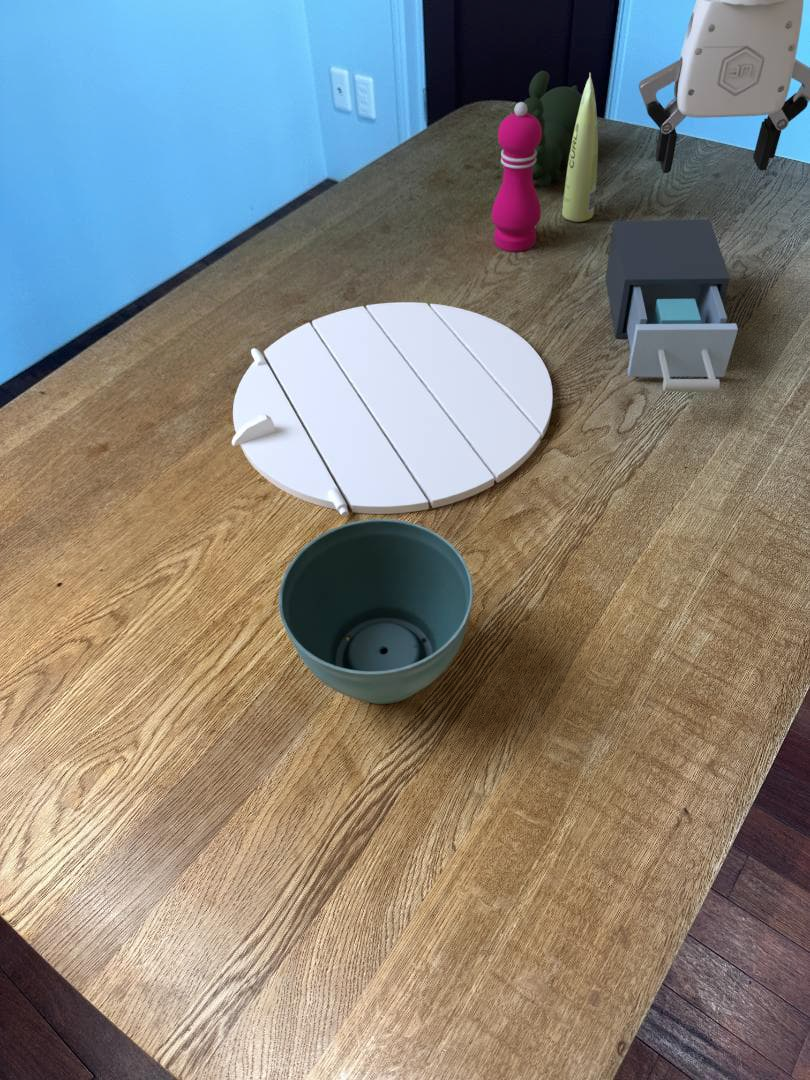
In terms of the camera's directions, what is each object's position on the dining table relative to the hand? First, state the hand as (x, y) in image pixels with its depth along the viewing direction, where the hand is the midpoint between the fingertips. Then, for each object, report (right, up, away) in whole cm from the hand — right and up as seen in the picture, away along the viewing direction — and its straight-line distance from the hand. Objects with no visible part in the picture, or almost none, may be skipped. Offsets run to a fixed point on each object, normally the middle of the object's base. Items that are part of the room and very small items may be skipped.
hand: (711, 166), depth 85 cm
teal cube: (+1, -14, +17) cm, 22 cm away
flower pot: (-34, -51, -10) cm, 62 cm away
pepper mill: (-16, +6, +39) cm, 42 cm away
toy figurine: (-8, +24, +54) cm, 60 cm away
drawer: (+1, -17, +16) cm, 23 cm away
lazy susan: (-34, -22, +15) cm, 44 cm away
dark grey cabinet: (+2, -8, +25) cm, 26 cm away
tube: (-5, +12, +43) cm, 45 cm away
